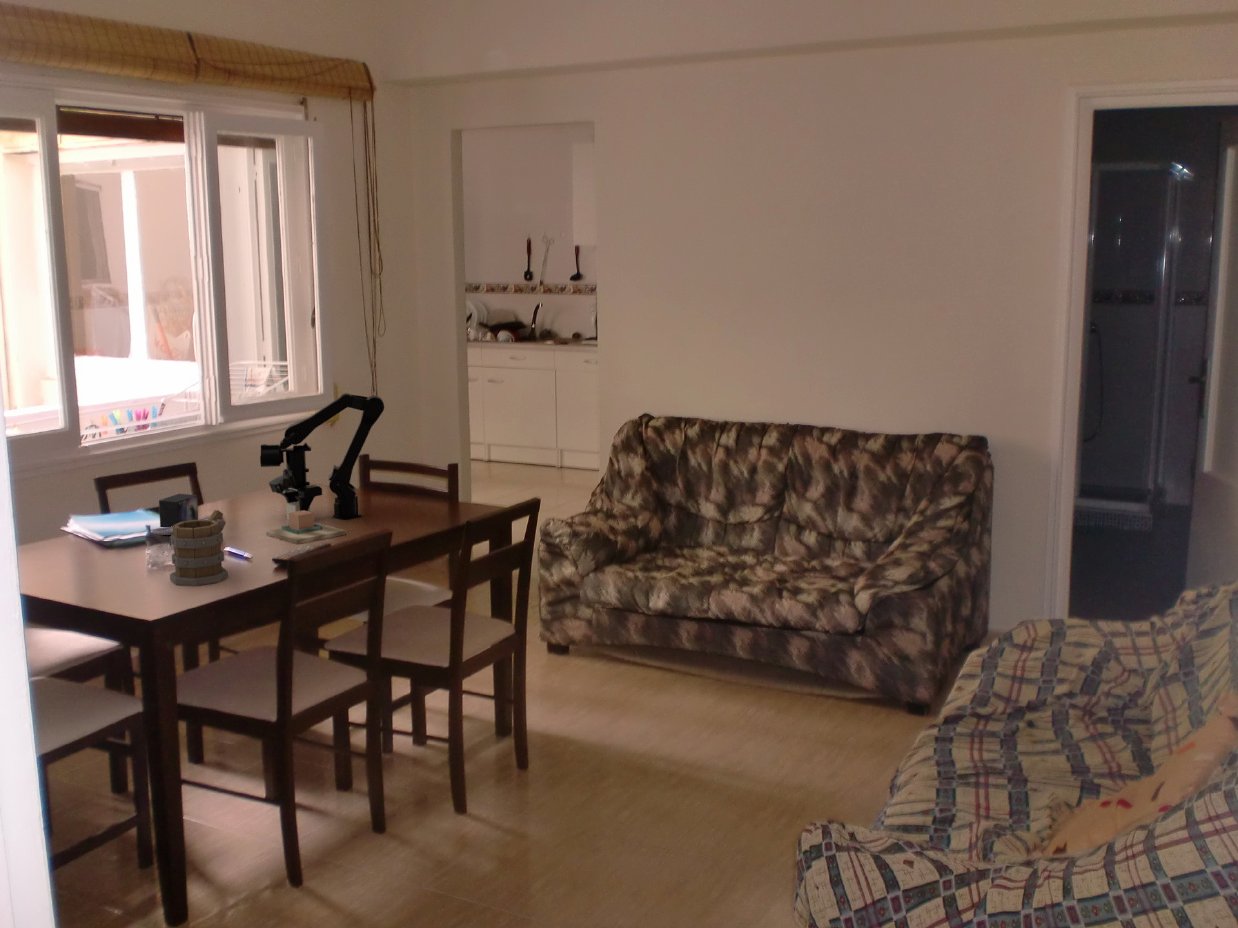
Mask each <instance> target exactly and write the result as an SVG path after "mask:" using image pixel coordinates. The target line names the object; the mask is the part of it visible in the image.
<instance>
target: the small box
mask: <svg viewBox="0 0 1238 928" xmlns="http://www.w3.org/2000/svg"><path fill="white" fill-rule="evenodd" d="M198 507H199V506H198V494H187V493H186V494H185V493H177V494H174V495H171V496H168V497H165V498H161V499H159V500H158V508H159V509H158V511H159V528H160V527H171V526H173V525H175V524H177V523H180V522H183V521H191V520H198V521H199V509H198Z"/></svg>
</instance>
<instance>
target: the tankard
mask: <svg viewBox="0 0 1238 928" xmlns="http://www.w3.org/2000/svg"><path fill="white" fill-rule="evenodd" d="M223 516H224V513H223V512H222V511H220V510H219V509H217V510H216V509H215V510H213V512H212V514H211V515H210V516H209V518H208V519H198V520H191V521H183V522H180V523H177V524H175V525H173V526H172V527H173V534H172V535H171V536H169V537H170V545H172V546H173V553H172V554H171V564H172V565H174V567H175V571H173V572H171V573H170V574H169V580H170V581H171V582H173V583H174V584H175V585H176V586H185V587H186V586H188V587H190V586H191V587H198V586H206V585H210V584H211V585H212V584H217V583H219V582H221V581H223V580H226V579H227V578H229V570H227V569H226V568H224V567H223V566H222V565H223V562H224V561H225V552H224V551H223V550H222V549H221V547H222V546H221V543H223V542H224V537H223V536H224V533H223V532H222V531H220V530H221V529H220V523H219V522H218V520H223Z"/></svg>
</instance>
